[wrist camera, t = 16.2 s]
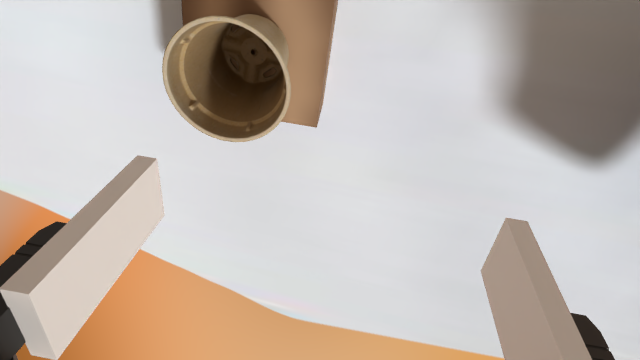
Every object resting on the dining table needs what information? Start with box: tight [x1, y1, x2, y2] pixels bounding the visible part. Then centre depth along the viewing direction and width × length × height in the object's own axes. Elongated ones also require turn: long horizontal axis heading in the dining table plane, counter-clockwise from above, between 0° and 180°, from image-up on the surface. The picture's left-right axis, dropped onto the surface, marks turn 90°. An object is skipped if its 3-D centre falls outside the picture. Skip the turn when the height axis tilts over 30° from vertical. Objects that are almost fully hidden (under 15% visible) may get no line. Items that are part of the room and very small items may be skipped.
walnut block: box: [182, 0, 338, 127], centre depth 39 cm, size 13×13×6 cm
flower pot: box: [162, 14, 291, 142], centre depth 33 cm, size 9×9×9 cm
